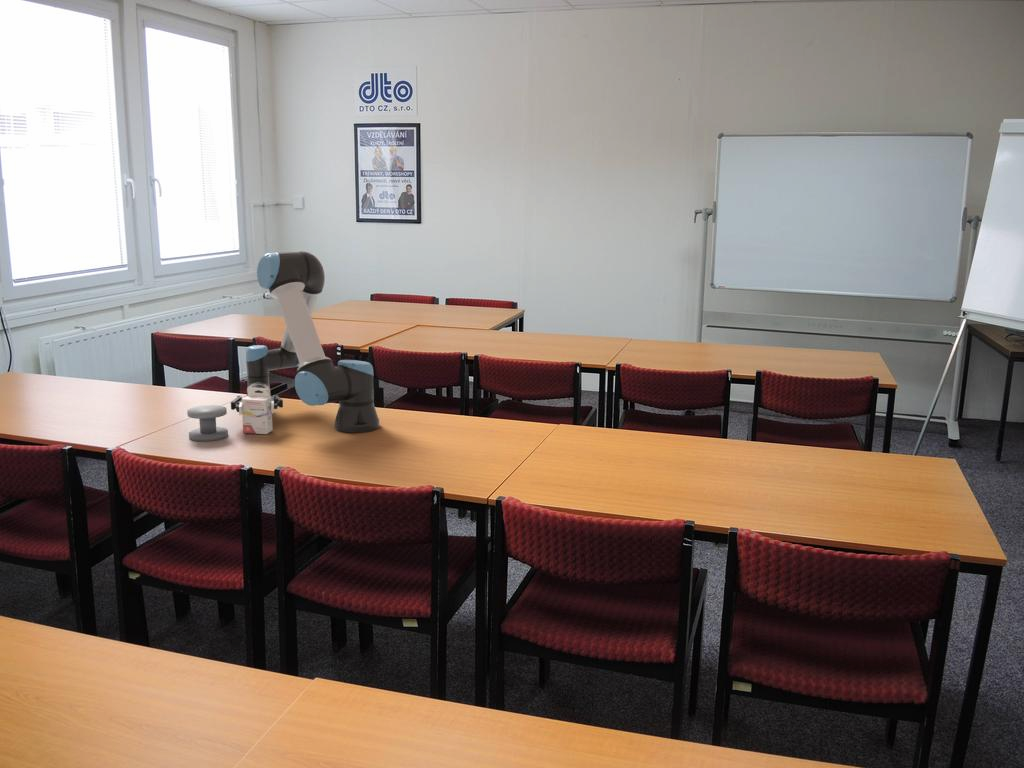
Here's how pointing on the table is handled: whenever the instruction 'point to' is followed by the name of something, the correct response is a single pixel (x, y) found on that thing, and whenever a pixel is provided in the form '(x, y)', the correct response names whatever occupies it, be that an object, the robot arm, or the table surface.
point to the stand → (207, 423)
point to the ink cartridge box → (257, 411)
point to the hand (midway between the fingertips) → (256, 410)
